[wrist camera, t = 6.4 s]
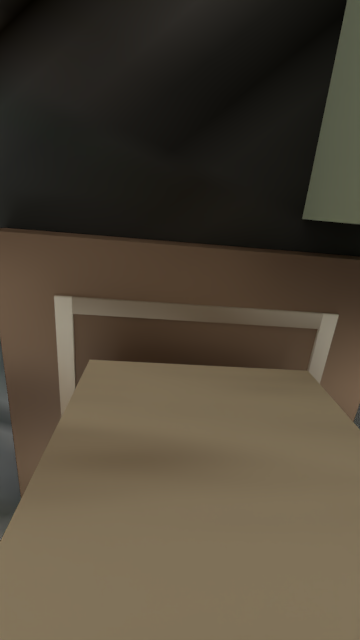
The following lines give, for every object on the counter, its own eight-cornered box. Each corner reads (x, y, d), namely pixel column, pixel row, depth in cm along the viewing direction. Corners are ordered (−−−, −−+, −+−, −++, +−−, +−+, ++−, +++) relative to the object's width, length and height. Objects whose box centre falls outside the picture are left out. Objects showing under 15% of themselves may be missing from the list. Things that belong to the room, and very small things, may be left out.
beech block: (268, 523, 11) (387, 881, 5) (92, 520, 10) (3, 911, 5) (308, 370, 9) (584, 684, 3) (89, 359, 8) (-80, 701, 2)
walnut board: (303, 519, 14) (314, 543, 13) (35, 515, 13) (25, 541, 12) (384, 258, 10) (409, 264, 9) (4, 227, 9) (-16, 230, 8)
